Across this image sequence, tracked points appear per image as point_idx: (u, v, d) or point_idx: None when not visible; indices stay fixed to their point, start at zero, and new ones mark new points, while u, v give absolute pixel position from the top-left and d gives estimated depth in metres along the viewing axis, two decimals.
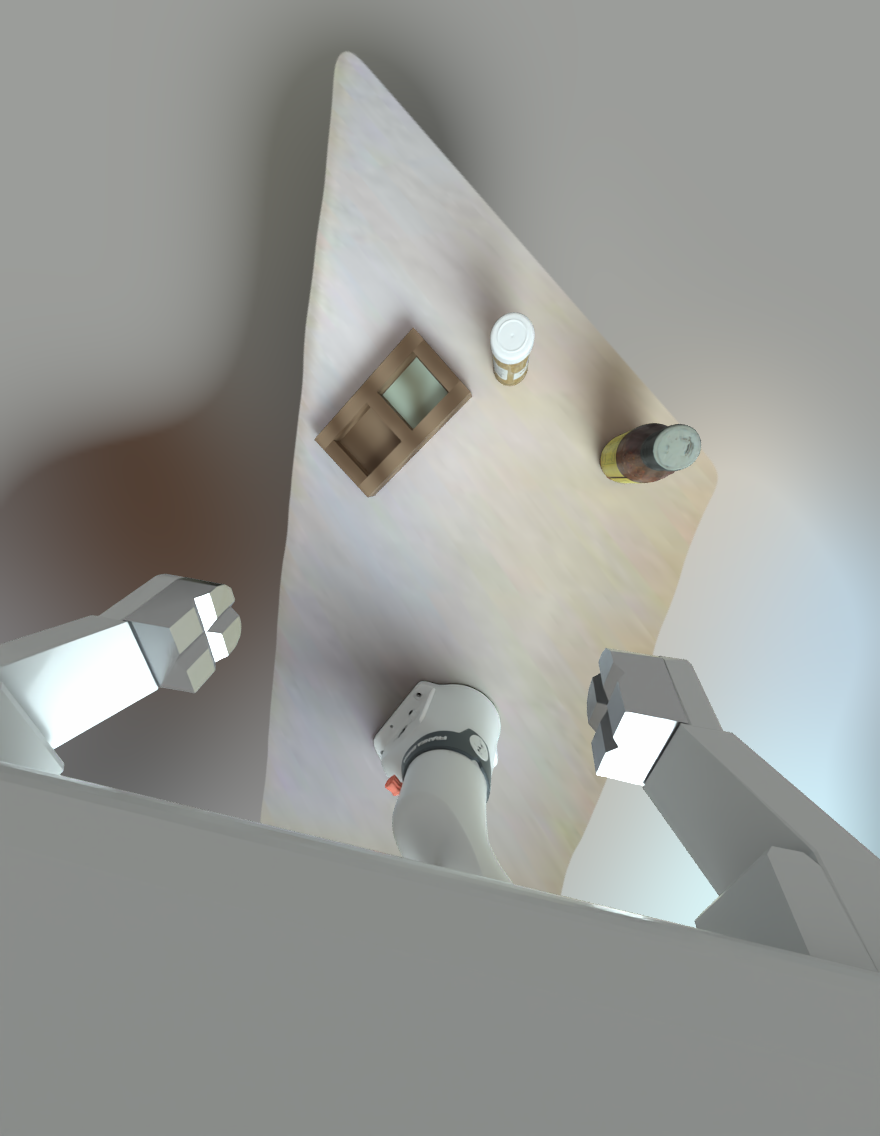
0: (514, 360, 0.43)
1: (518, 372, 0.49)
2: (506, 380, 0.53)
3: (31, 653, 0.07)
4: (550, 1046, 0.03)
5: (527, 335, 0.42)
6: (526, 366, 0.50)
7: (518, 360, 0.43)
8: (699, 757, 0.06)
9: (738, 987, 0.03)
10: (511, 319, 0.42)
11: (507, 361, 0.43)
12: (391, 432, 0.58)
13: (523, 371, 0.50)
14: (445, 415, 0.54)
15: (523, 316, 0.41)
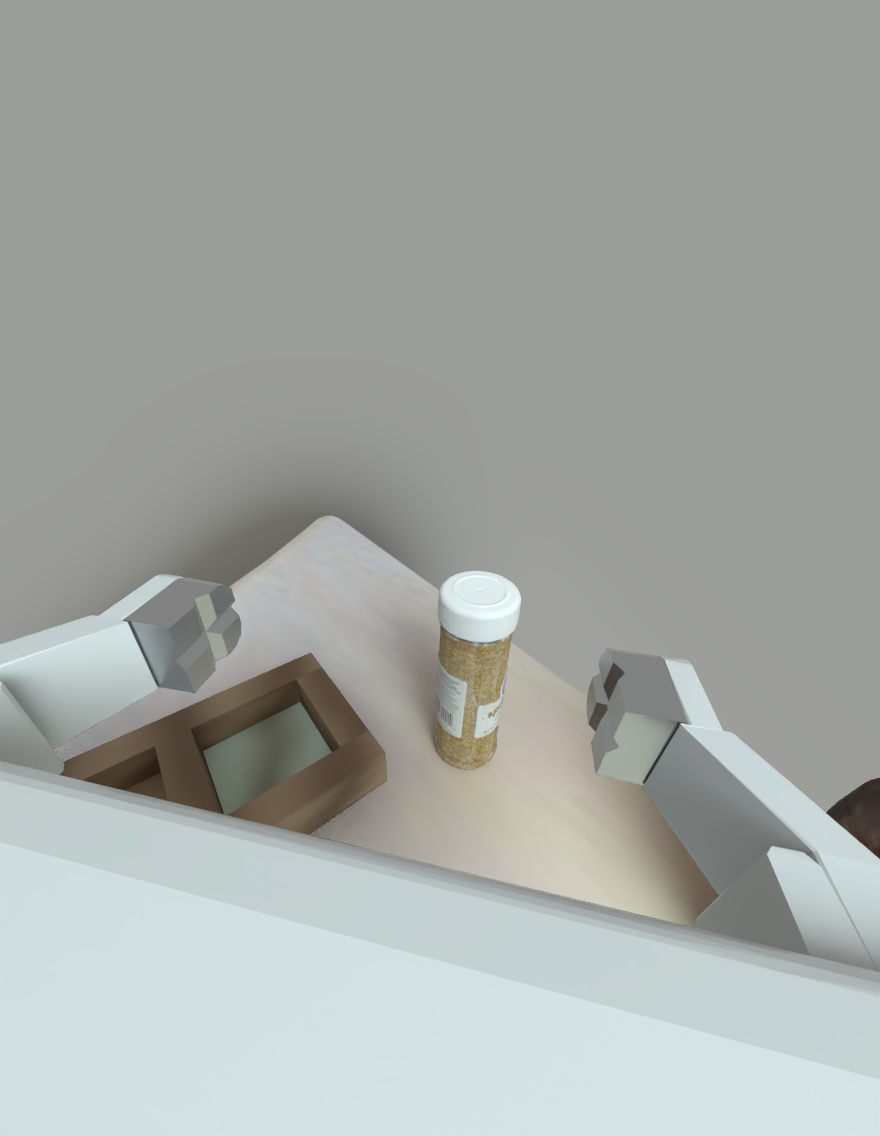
0: (486, 622, 0.21)
1: (486, 705, 0.24)
2: (459, 742, 0.26)
3: (31, 653, 0.07)
4: (550, 1047, 0.03)
5: (508, 592, 0.22)
6: (499, 708, 0.26)
7: (493, 628, 0.21)
8: (699, 758, 0.06)
9: (739, 987, 0.03)
10: (477, 574, 0.24)
11: (471, 626, 0.21)
12: None
13: (494, 717, 0.26)
14: (317, 792, 0.23)
15: (498, 575, 0.24)
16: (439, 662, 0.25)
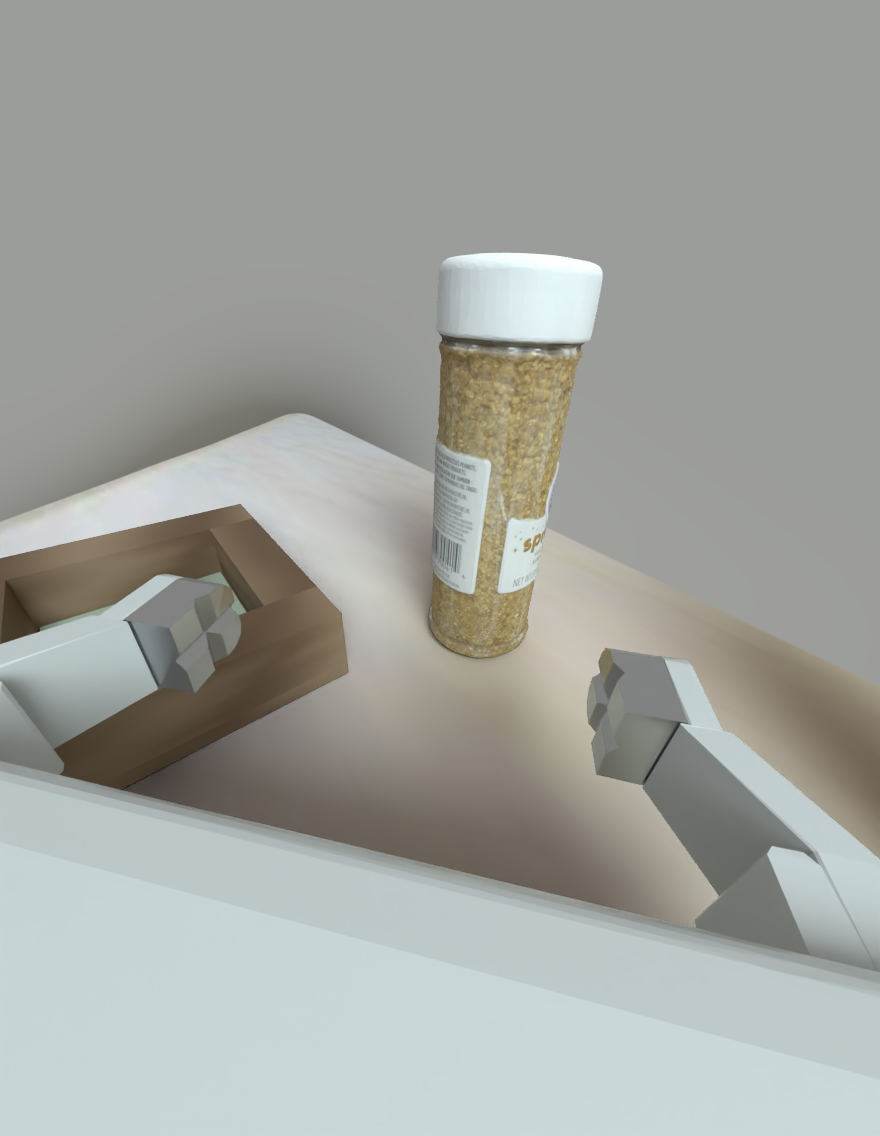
0: (541, 278, 0.10)
1: (523, 521, 0.14)
2: (471, 603, 0.15)
3: (31, 653, 0.07)
4: (550, 1046, 0.03)
5: None
6: (541, 543, 0.15)
7: (555, 298, 0.10)
8: (699, 758, 0.06)
9: (738, 987, 0.03)
10: None
11: (508, 293, 0.10)
12: None
13: (532, 556, 0.15)
14: None
15: None
16: (438, 445, 0.14)
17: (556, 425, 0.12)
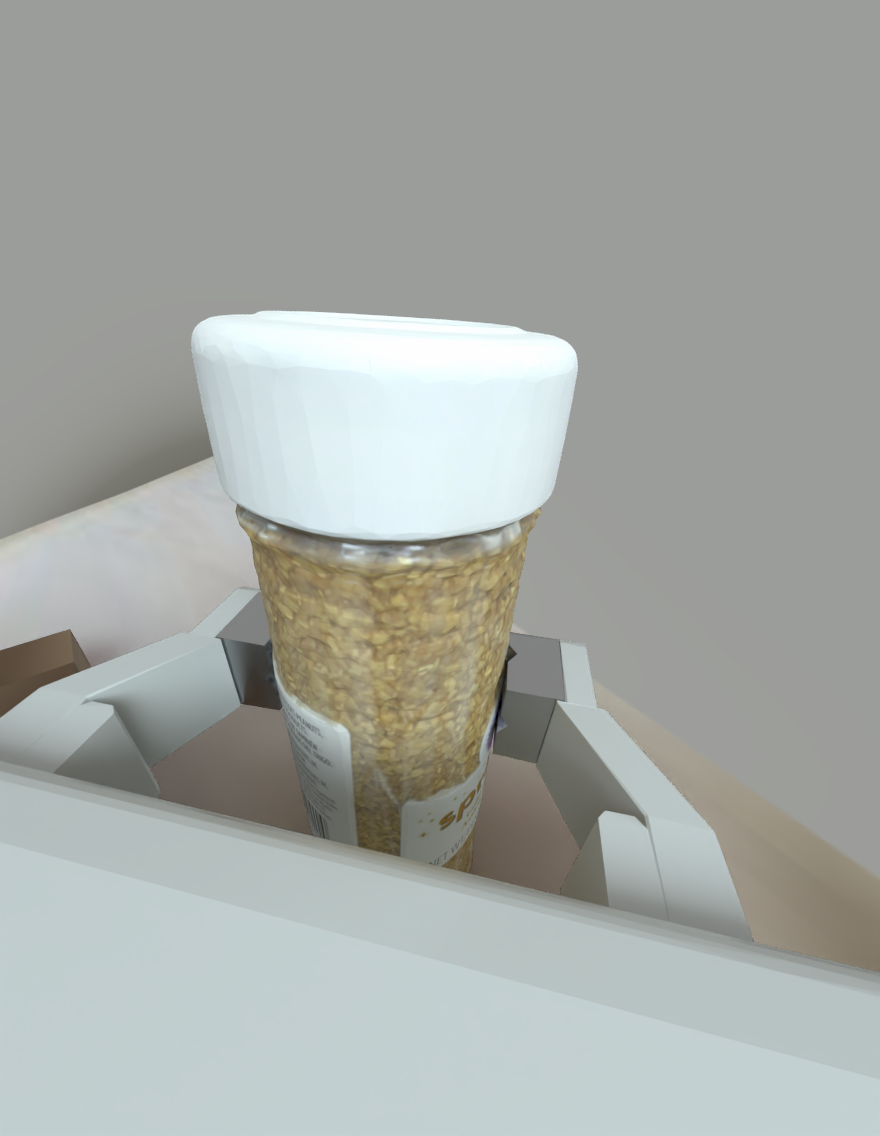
0: (391, 398, 0.03)
1: (432, 799, 0.07)
2: None
3: (134, 674, 0.06)
4: (550, 1046, 0.03)
5: None
6: (478, 792, 0.09)
7: (441, 446, 0.04)
8: (570, 733, 0.06)
9: (738, 987, 0.03)
10: None
11: (309, 431, 0.04)
12: None
13: (461, 821, 0.08)
14: None
15: None
16: None
17: (486, 653, 0.06)
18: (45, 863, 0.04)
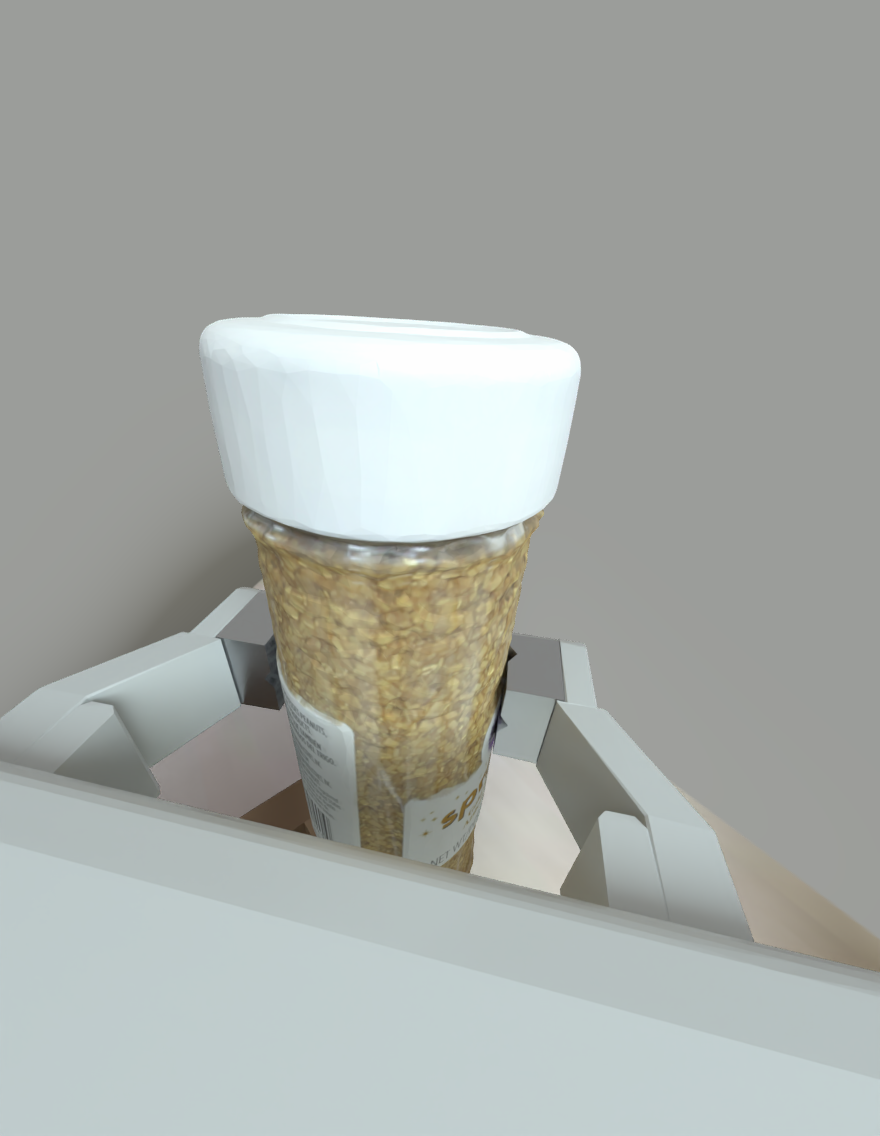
0: (399, 402, 0.03)
1: (434, 798, 0.07)
2: None
3: (134, 674, 0.06)
4: (550, 1046, 0.03)
5: None
6: (480, 791, 0.09)
7: (447, 449, 0.04)
8: (570, 733, 0.06)
9: (738, 987, 0.03)
10: (404, 321, 0.06)
11: (317, 435, 0.04)
12: None
13: (463, 820, 0.08)
14: None
15: None
16: (278, 649, 0.07)
17: (488, 653, 0.06)
18: (45, 863, 0.04)
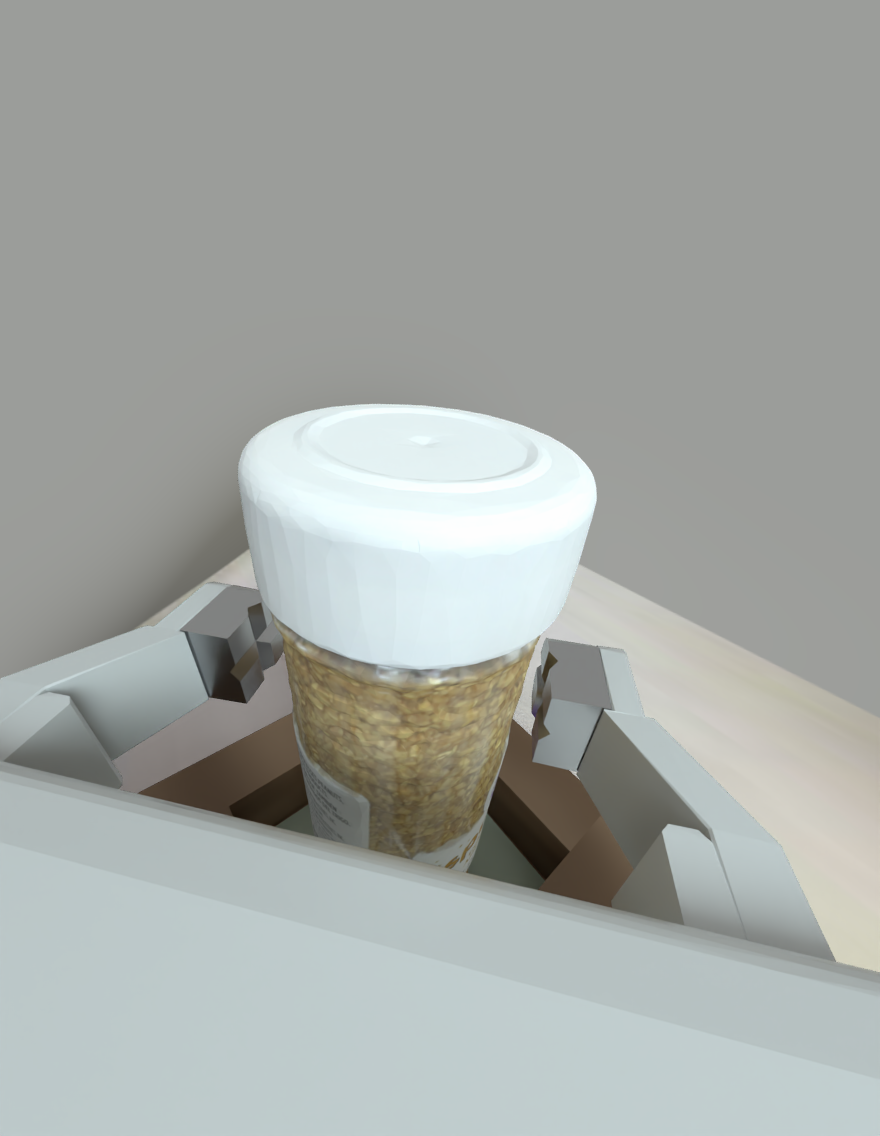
0: (436, 569, 0.04)
1: (440, 850, 0.08)
2: None
3: (93, 666, 0.06)
4: (550, 1046, 0.03)
5: (543, 453, 0.05)
6: (480, 832, 0.09)
7: (476, 601, 0.04)
8: (619, 742, 0.06)
9: (738, 987, 0.03)
10: (424, 409, 0.07)
11: (357, 588, 0.04)
12: None
13: (464, 860, 0.09)
14: None
15: None
16: (294, 709, 0.08)
17: (497, 731, 0.06)
18: (45, 863, 0.04)
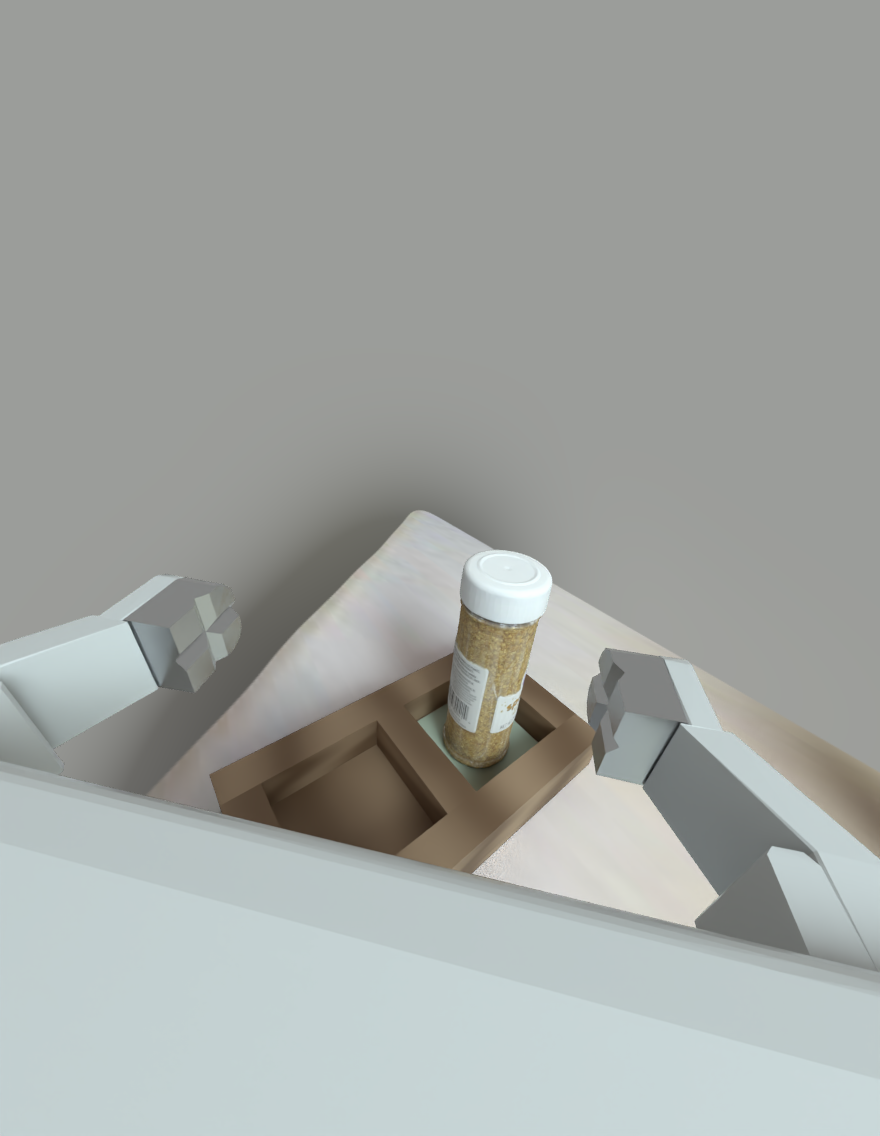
0: (517, 601, 0.19)
1: (506, 697, 0.22)
2: (473, 737, 0.24)
3: (30, 653, 0.07)
4: (550, 1046, 0.03)
5: (538, 571, 0.21)
6: (518, 702, 0.24)
7: (524, 608, 0.19)
8: (699, 758, 0.06)
9: (738, 987, 0.03)
10: (503, 553, 0.22)
11: (500, 605, 0.19)
12: (409, 806, 0.23)
13: (512, 711, 0.24)
14: (556, 770, 0.23)
15: (525, 555, 0.22)
16: (457, 648, 0.23)
17: (526, 650, 0.21)
18: (45, 863, 0.04)
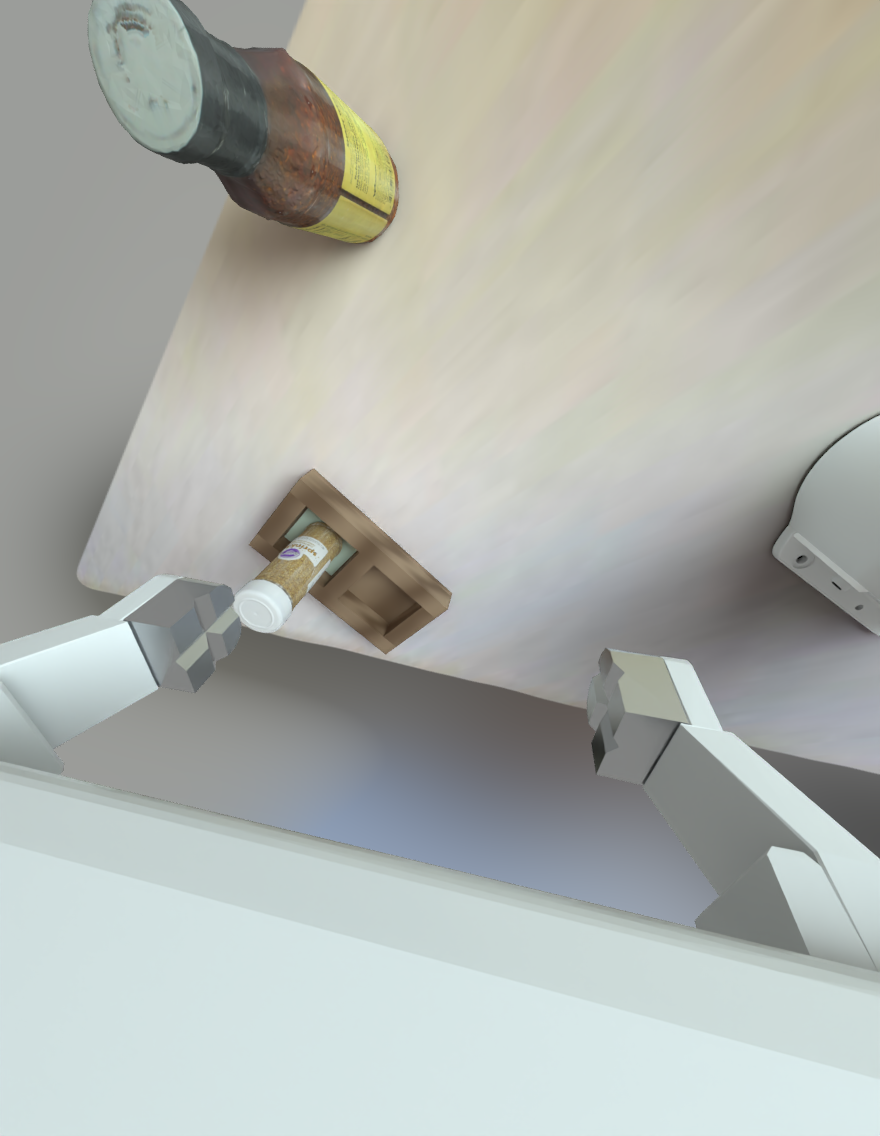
0: (281, 608, 0.34)
1: (312, 561, 0.39)
2: (331, 556, 0.43)
3: (30, 653, 0.07)
4: (550, 1046, 0.03)
5: (250, 598, 0.33)
6: (307, 546, 0.40)
7: (281, 601, 0.34)
8: (699, 758, 0.06)
9: (738, 987, 0.03)
10: (240, 614, 0.34)
11: (285, 613, 0.34)
12: (371, 569, 0.46)
13: (313, 548, 0.40)
14: (334, 510, 0.40)
15: None
16: None
17: (289, 573, 0.36)
18: (45, 863, 0.04)
